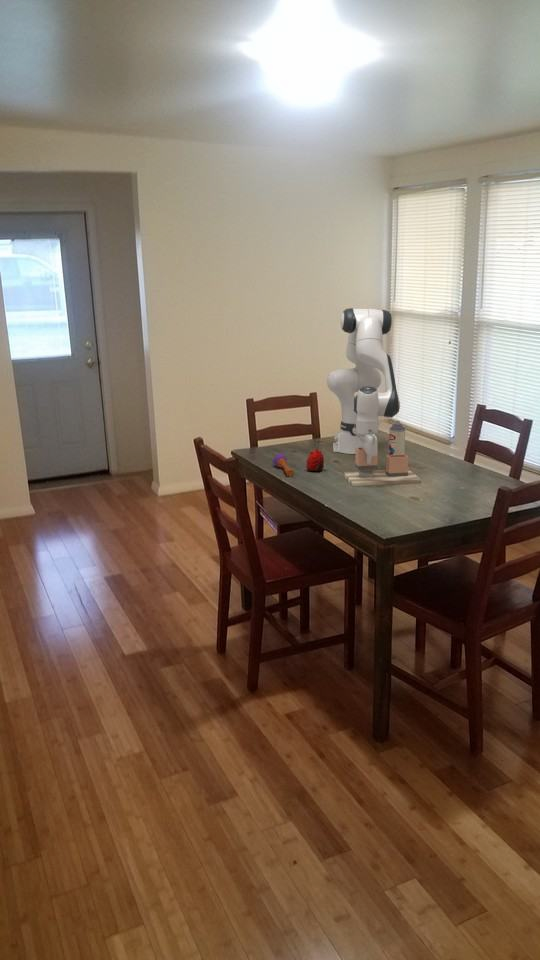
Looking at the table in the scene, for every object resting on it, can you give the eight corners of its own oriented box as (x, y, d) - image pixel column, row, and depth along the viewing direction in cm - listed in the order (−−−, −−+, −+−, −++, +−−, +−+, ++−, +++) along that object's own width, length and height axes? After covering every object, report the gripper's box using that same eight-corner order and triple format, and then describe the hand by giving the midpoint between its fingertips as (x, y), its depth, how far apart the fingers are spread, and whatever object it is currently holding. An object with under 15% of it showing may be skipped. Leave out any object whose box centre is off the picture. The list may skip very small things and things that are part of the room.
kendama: (282, 468, 307) (270, 454, 325) (284, 481, 309) (273, 466, 327) (295, 465, 308) (283, 450, 326) (298, 478, 310) (286, 462, 328)
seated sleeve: (388, 476, 301) (389, 457, 299) (385, 473, 305) (386, 455, 303) (407, 475, 302) (408, 457, 300) (404, 472, 306) (405, 454, 304)
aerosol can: (385, 464, 325) (386, 420, 320) (399, 463, 327) (401, 419, 321) (392, 468, 319) (394, 423, 313) (406, 467, 321) (408, 421, 315)
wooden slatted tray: (343, 475, 309) (343, 461, 308) (408, 472, 313) (408, 458, 311) (352, 486, 294) (352, 471, 292) (420, 482, 297) (421, 468, 296)
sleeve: (374, 465, 304) (374, 446, 302) (377, 468, 299) (377, 449, 297) (355, 466, 303) (355, 447, 301) (358, 469, 298) (358, 450, 296)
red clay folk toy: (319, 467, 322) (319, 434, 318) (327, 471, 316) (327, 437, 312) (303, 469, 319) (303, 436, 315) (311, 473, 313) (311, 439, 309)
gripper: (382, 433, 287) (381, 467, 291) (368, 422, 306) (367, 455, 310) (366, 433, 286) (365, 468, 290) (353, 423, 306) (353, 455, 310)
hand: (366, 461), depth 300 cm, fingers closed on sleeve, 5 cm apart
